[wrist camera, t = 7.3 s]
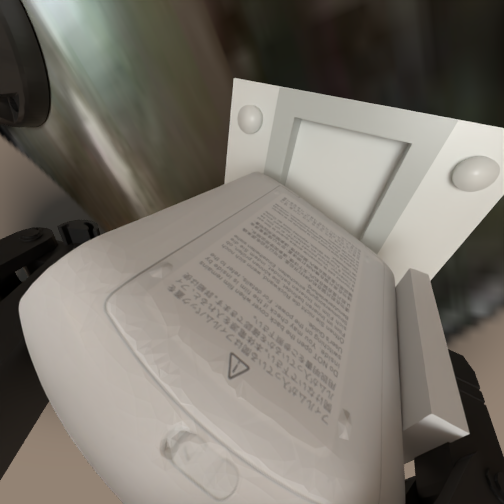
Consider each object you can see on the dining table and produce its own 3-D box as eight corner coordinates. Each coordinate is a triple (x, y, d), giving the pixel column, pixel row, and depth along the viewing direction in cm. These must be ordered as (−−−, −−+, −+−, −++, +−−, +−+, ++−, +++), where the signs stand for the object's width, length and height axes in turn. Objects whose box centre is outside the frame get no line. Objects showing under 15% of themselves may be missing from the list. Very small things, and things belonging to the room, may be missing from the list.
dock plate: (223, 248, 23) (209, 260, 21) (241, 79, 15) (220, 74, 13) (387, 322, 18) (387, 346, 17) (539, 135, 10) (574, 139, 8)
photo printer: (227, 214, 16) (-17, 367, 6) (254, 157, 13) (-114, 275, 3) (351, 308, 15) (291, 664, 5) (408, 268, 12) (509, 879, 2)
